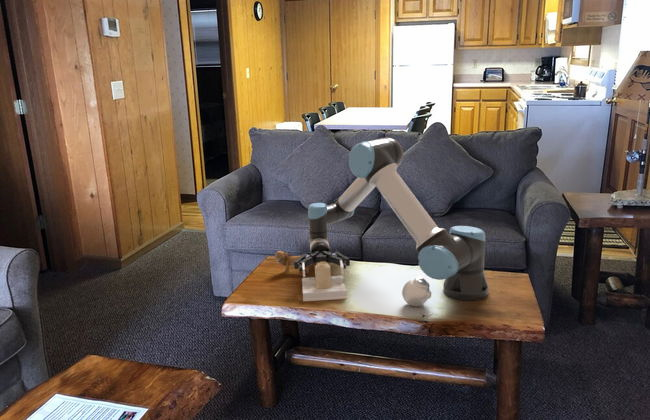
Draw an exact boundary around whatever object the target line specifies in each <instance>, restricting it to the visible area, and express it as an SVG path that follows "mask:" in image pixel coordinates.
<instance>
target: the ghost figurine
mask: <svg viewBox="0 0 650 420" xmlns="http://www.w3.org/2000/svg"><path fill="white" fill-rule="evenodd" d="M430 289H431V288H430V283H429V282H428V281H427V280H426V279H425V278H424V277H422V276H417V277H416V278H413V279H410V280H408V281H406V282H405V283H404V285H403V287H402V291H401V296H402V298H403V300H404V302H405V303H406V304H407V305H409V306H411V307H421V306H423V305H424V304H426V303H427V301H428V300H430V299H431V298H432V292H431V290H430Z"/></svg>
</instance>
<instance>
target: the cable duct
mask: <svg viewBox="0 0 650 420" xmlns="http://www.w3.org/2000/svg"><path fill="white" fill-rule="evenodd" d="M301 285H302V302H312V301H313V302H315V301H316V302H317V301H329V300H331V301H332V300H345V299H347V298H348V297H347V295H348V294H347V293H348V292H347V288H346V287H345V284H344V274H341V275H331V289H316V281H315V276H311V277H309V276H308V277H301Z"/></svg>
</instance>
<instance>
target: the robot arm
mask: <svg viewBox="0 0 650 420" xmlns="http://www.w3.org/2000/svg"><path fill="white" fill-rule="evenodd" d="M403 159H404V150H403V147H402V145H401V143H399V141H398V140H396V139H394V138H391V137H381V138H376V139H373V140H368V141H367V140H366V141H365V140H363V141H362V142H359V143H357V144H355V145H354V146H353V147H352V148H351V150H350V151H349V155H348V166H349V170H350V171H351V173H352V174H353V175H354V176H355V177H356V179H354V181H353V182H352V183H351V184H350V186H348V188H347V189H346V190H345V191H344V192H343V193H342V194H341V196H339V198H338V199H337V200H336V201H335V202H334V203H331V204H328V205H327V204H326V203H323V202H314V203H311V204H310V205H308V207H307V208H308V209H307V213H308V214H307V218H308V219H307V220H308V235H309V238H308V243H309V250H310V253H309V254H307V253H305V252H303V253H302V255H300V256H301V257H299V258H298V259H297V260H296V261H295V262H294V265H293V268H294V269H295V270H297V269H298V270H299V272H302V278H306V269H305V267H309V265H310V266H311V265H315V264H318V263H320V262H324V261H325V262H326V263H328V264H334V265H337V266H339V269H340V273H341V275H345V273H344V272H345V270H346V268H347V266H348V267H349V266H350V265H351V260H350V259H351V258H350V257H347V256H346V255H344V254H342V253H340V251H338V250H336V251H335V252H334V253H333V252H331V249H330V243H329V242H330V241H329V228H328V227H329V225H331V224H334V223H338V222H342V221H343V220H348V219H349V218H350V217H352V216H354V214H355V210H356V208H357V207H358V206H359V205H360V203H362V202H363V200H364V199H365V198H366V197H367V196H368V195H369V194H371V192H372V191H373V190H374V189H375V188H376V189H377V190H378V192H380V194H381V195H382V198H383V199H384V200H385V202H387V204H388V206H389V207H390V209H392V211H393V212H394V213H395V214H396V216H397V218H398V219H399V220H400V222H401V223H402V224H403V226H404V227H405V228H406V230H407V231H408V233H409V234H410V236H412V237H411V238H413V239H414V241H415V242H416V246H415V251H416V252H417V253H418V257H417V259H418V261H417V262H418V266H419V268H420V269H421V271H422V272H423V273H424V274H425V276H427V277H429V278H431V279H433V280H438V281H441V280H444V282H443V285H442V286H443V287H442V288H443V289H442V291H443V293H444V294H445V295H446V296H448V297H450V298H453V299H455V300H460V301H461V300H462V301H477V300H482V299H484V298H486V297H487V296H488V295H489V283H488V281H487V278H486V274H485V254H486V242H487V241H486V233H485V231H484V230H482V229H481V228H479V227H475V226H474V227H473V226H469V225H455V226H452V227H450V229H449V231H447V229H446V228H443V227H438V225H437V224H436V222H435V221H434V220H433V218H432V217H431V215H429V213H428V211H427V210H426V208H424V206H423V205H422V204H421V202H420V201H419V200H418V198H417V197H416V196H415V194H414V193H413V192H412V190H411V189H410V188H409V186H408V185H407V184H406V182H405V181H404V179H403V178H402V177H401V176H400V174H399V173H398V172H397V170H398V167H400V165H401V164H402V161H403Z"/></svg>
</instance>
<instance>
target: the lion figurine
mask: <svg viewBox="0 0 650 420" xmlns="http://www.w3.org/2000/svg"><path fill="white" fill-rule="evenodd" d="M274 255H275V256H274V257H275V258H274V260H275V261H276V262H277V263H278V264H280V266H282V267H283V266H285V269H284V271H285V274H289V273H290V266H294V262H295V261H296V260H297V259H298V258H299V257H301V256H302V255H292V254H290V253H289V252H286V251H283V250H278V251H276V252H275V253H274ZM310 270H311V271H315V268H313V267H311V265H309V266H307V267H305V274H309V273H310Z"/></svg>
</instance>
